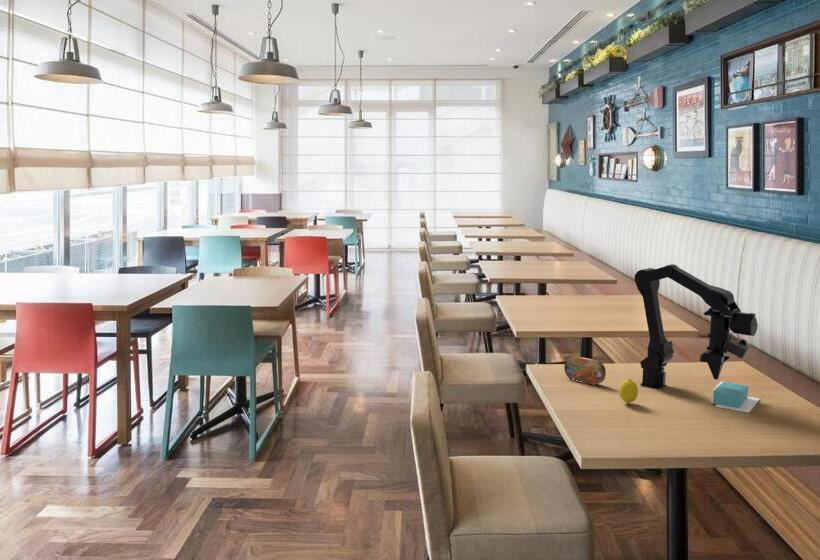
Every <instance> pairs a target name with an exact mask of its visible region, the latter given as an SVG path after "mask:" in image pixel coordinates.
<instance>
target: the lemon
mask: <svg viewBox="0 0 820 560" xmlns="http://www.w3.org/2000/svg"><path fill="white" fill-rule="evenodd" d="M638 393H639V389H638V385H637V384H636V382H635V381H633V380H631V378H628V379H626V380H624V381H622V382H621V383H620V385H619V390H618V394H619V397H620V399H621V400H622V401H623V402H625V403H626V404H627V405H629V404H631V403H633V402H634V401H636V399H637V398H638V395H639V394H638Z"/></svg>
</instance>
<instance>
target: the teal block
mask: <svg viewBox="0 0 820 560" xmlns="http://www.w3.org/2000/svg"><path fill="white" fill-rule="evenodd" d="M748 394H749V385H745V384H740V383H734V382H730V381H729V382H727V381H720V382H719V383H718V384H717V385H716V386H715V387H714V388H713V389H712V390H711V398H710V399H711V401H710V403H711V404H714V405H716V404H719V405H725V406H730V407H736V408H739V407H740V406H741V405H742V404H743V403H744V402H745V400H746V399H747V398H748V397H749V396H748Z"/></svg>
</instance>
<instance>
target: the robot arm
mask: <svg viewBox="0 0 820 560" xmlns="http://www.w3.org/2000/svg"><path fill="white" fill-rule="evenodd" d="M667 278H668V279H670V280H672V281H673V282H675V283H677V284H678V285H680V286H682V287H684V288H686V289H687V290H689V291H691V292H692V293H694V294H695V295H697V296H699V297H700V298H701V299H702V301H703V303H705V304H707V306H709V308H708V309H707V310H706V311H704V312H703V315H704V316H709V317H710V320H709V333H707V338H708V345H707V346H706V350H705V351H704V352H702V353H701V354H700V355H699V357H700V358H699V361H700V362H701V363H707V365H708V368H709V370H710V373H711V375H712V378H713V380H715V381H718V380H719V378H720V376H721V373H722V372H721V371H722V369H723V366H724V363H726V362H727V361H728V360H729V359H730V358H731V357H730V356H729V355H728V356H727V355H726V354H727V353H730V354H731V355H734V356H736V357H737V358H739V359H743V358H744V357H745V356H746V355H747V352H748V351H749V348H750V346H749V345H748V341H747V340H746V339H744V338H741V339H740V340H739V341H738V340H737V339H736V340H735V339H733V338H732V334H731V333H730V332H731V331H732V333H733V334H736V335H738V334H739V335H744V336H748V337H749V336H751V337H754V336H756V334H757V331H758V327H759V325H758V324H759V323H758V321H757V318H756V313H753V312H749V313H748V312H742V310H741V309H740V307H739V306H738V304H737V302H736V300H735V296H734V293H733V292H731V291H730V290H727V289H725V288H722V287H720V286H719V287H718V286H714V285H711V284H708V283H707V282H705V281H703V280H702V279H699V278H697V277H696V276H695V275H693V274H691V273H689V272H687V271H686V270H684V269H682V268H681V267H679V266H678V265H676V264H675V263H674V264H673V263H669V264H667V265H664V266H662V267H658V268H652V267H648V268H644V269H640V270H638V271H637V272H636V273H635V274H634V278H633V279H634V282H635V285H636V289H637V290H638V292H639V294H640V295H641V296H642V300H643V305H644V312H645V318H646V324H647V329H648V335H649V341H648V345H647V356H646V357H645V358H643V360H641V361H640V362H639V363H640V367H641V369H642V381H641V383H640V386H643V387H648V388H654V389H661V388H663V387H664V386H665V385H666V382H667V381H666V377H667V372H665V367H667V365H668V363H669V362H670V361H671V360H672V359H673V356H674V354H675V351H674V348H673V341H672V340H667V338H666V336H665V332H664V331H665V330H664V326H663V319H662V312H661V309H660V301H659V295H658V293H659V289H660V286H661V285H660V282H661V281H660V280H665V279H667Z"/></svg>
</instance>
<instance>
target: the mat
mask: <svg viewBox="0 0 820 560" xmlns="http://www.w3.org/2000/svg"><path fill="white" fill-rule="evenodd" d="M759 401H760V398H757V397H752V396H748V398H747V399H746V400H745V402H744V403H743V404H742V405H741V406H740V407H739V408H736V407H730V406H725V405H719V404H715V408H721V409H727V410H732V411H738V412H743V413H748V414H749V413H750V412H751V411H752V410H753V409H754V408H755V406H756V405H757V403H758V402H759Z"/></svg>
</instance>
